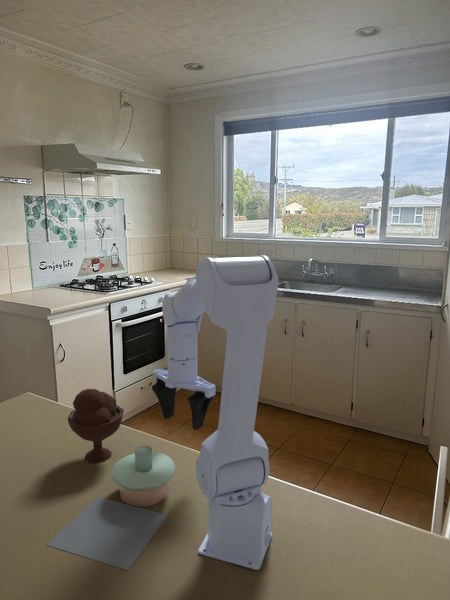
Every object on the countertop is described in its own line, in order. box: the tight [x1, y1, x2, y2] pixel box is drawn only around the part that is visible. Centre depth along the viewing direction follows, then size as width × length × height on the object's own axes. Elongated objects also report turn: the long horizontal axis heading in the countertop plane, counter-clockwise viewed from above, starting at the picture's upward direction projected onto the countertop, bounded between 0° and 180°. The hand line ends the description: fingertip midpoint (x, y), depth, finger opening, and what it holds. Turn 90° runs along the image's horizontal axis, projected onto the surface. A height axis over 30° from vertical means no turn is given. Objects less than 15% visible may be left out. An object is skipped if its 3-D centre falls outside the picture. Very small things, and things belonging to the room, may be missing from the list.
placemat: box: [46, 496, 169, 571], centre depth 72 cm, size 14×13×1 cm
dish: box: [119, 479, 171, 507], centre depth 81 cm, size 9×9×4 cm
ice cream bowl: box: [67, 388, 125, 464], centre depth 92 cm, size 11×11×15 cm
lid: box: [111, 445, 176, 490], centre depth 80 cm, size 11×11×4 cm
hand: (183, 422), depth 88 cm, fingers open, 7 cm apart
